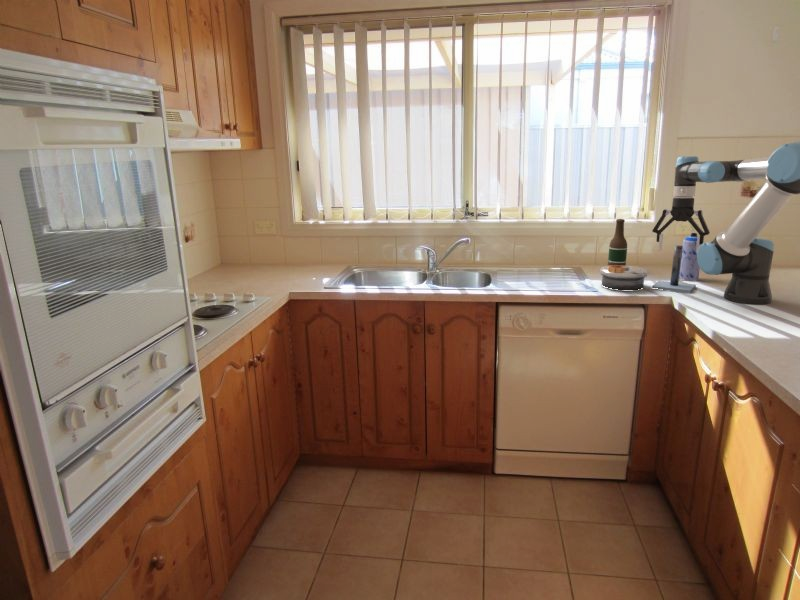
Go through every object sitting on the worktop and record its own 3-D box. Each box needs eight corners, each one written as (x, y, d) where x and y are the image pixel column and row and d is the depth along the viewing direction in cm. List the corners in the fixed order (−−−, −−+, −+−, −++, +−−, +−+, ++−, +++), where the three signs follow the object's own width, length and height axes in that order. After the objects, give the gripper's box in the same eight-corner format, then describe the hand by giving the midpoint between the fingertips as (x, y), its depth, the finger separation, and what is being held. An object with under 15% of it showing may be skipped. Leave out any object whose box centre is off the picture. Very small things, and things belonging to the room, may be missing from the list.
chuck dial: (614, 268, 242) (615, 259, 241) (655, 274, 228) (656, 264, 227) (591, 274, 231) (592, 264, 230) (632, 281, 217) (633, 271, 216)
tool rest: (695, 287, 228) (695, 284, 227) (690, 293, 218) (690, 290, 218) (658, 283, 236) (658, 280, 235) (651, 288, 226) (652, 286, 226)
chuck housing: (647, 285, 233) (648, 273, 231) (637, 293, 220) (638, 280, 219) (608, 280, 242) (609, 269, 241) (596, 288, 229) (597, 276, 228)
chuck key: (672, 283, 229) (677, 245, 225) (679, 285, 227) (684, 246, 223) (668, 284, 227) (673, 245, 223) (675, 286, 225) (680, 246, 221)
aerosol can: (702, 281, 238) (708, 234, 233) (683, 281, 238) (689, 234, 233) (693, 277, 246) (698, 231, 241) (675, 277, 246) (680, 231, 241)
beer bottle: (607, 272, 259) (611, 220, 253) (607, 268, 266) (610, 218, 260) (625, 272, 257) (630, 220, 251) (624, 269, 264) (628, 218, 258)
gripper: (647, 197, 222) (642, 250, 227) (718, 198, 208) (712, 255, 213) (651, 196, 228) (647, 248, 233) (721, 197, 213) (715, 252, 218)
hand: (678, 251), depth 223 cm, fingers open, 13 cm apart
